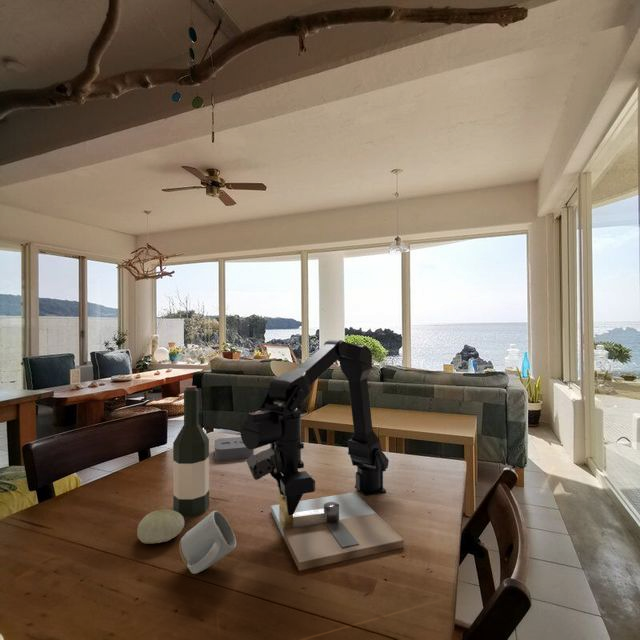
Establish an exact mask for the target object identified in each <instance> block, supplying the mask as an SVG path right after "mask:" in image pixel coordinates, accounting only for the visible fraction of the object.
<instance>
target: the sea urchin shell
mask: <svg viewBox="0 0 640 640" xmlns="http://www.w3.org/2000/svg"><path fill="white" fill-rule="evenodd" d="M185 524H186V523H185V517H183V516H182V515H181V514H180V513H178V512H176V511H174V510H173V509H170V508H169V509H168V508H163V509H158V510H154V511H151V512H149V513H147V514H145V516H144V517H142V519H141V521H139V523H138V525H137V531H136V533H137V534H136V537H137V538H138V540H139V541H140V542H141V543H143V544H146V545H147V544H160V543H165V542H168V541H170V540H172V539H173V538H176V537H177V536H178V535H180V533H182V531H183V529H184V527H185Z"/></svg>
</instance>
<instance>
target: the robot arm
mask: <svg viewBox="0 0 640 640" xmlns="http://www.w3.org/2000/svg"><path fill="white" fill-rule="evenodd" d="M337 361H338V362H339V367H340V370H341V372H342V373H343V375H344V376H345V377H346V379H347V381H348V390H349V400H350V409H351V417H352V425H353V427H352V428H353V434H352V436H351V437H350V439H348V440H347V443H346V444H347V449H348V452H347V455H349V457H350V460H351V463H352V466H356V470H357V471H356V472H355V484H354V487H355V489H357V490H358V491H359V492H360V493H361V494H362V495H363V496H371V495H377V494H383V493H386V492H387V489H385V488H384V472H386V471H387V469H388V468H389V461H390V460H389V458H388V457H387V455H386V454H384V451H383V450H382V445H381V442H380V441H381V440H380V439H379V437H378V436H377V434H376V433H375V432H374V430H373V421H372V413H371V411H372V410H371V404H370V403H371V401H370V395H369V384H368V383H369V382H368V377H369V375H370V373H371V371H372V369H373V353H372V350H371V348H369V347H368V346H367V345H355V344H352V343H349V342H346V341H344V340H342V339H329V340H327V341H325V342H324V343H323V346H321V347H320V348H319V349H318V350H316V351H315V352H314V353H313V354H312V355H311V356H309V357H308V358H307V359H306V360H305V361H304V362H303V363H301V364H300V365H299V366H298V367H297V368H295V369H293V370H291V371H288V372H287V371H286V372H284V373H282V374H280V375H279V376H277V377H275V378H274V379H272V380H271V381H270V383H269V388H268V389H267V391H266V394H265V395H264V398H263V399H262V401H261V404H260V406H259V407H258V411H257V412H249V413H247V414H246V417H247V418H246V419H245V420H244V421H243V423H242V425H241V428H240V437H241V438H242V441H243V443H244V445H245V446H246V447H247V448H248V449H251V450H252V449H254V450H255V449H259V448H261V447H265V446H268V445H270V446H269V448H267V449H264V450H262V451H259V452H257V453H254V455H253V456H251V457H249V458H248V459H245V460H246V464H247V465H248V469H249V472H250V474H251V476H252V479H254V480H255V481H256V480H259V479H262V478H263V477H265V476H267V475H268V474H270V476H271V477H272V478H273V479H274V480H276V484H277V488H278V492H279V493H278V494H280V493H282V492H283V493H284V495H285V500H286V506H287V511H288V515H293V514H294V512H295V510H296V508H297V506H298V503H299V501H301V499H302V497H303V495H305V494H310V493H314V492H315V491H316V480H315V479H314V478H313V477H312V476H311V474H310V473H309V472H308V471H306V470H302V471H299V469H304V468H305V467H304V466H305V464H304V461H303V460H302V450H303V449H305V446H304V445H305V444H304V442H302V440H301V439H302V437H301V436H302V434H301V433H302V420H301V419H302V417H301V415H305V414H308V412H309V410H308V409H307V408H306V407H304V406H303V403H304V402H305V400H306V399H307V398H308V396H309V395H310V393H311V390H312V389H311V387H312V385H313V384H314V383H315V382H316V381H317V380H318V379H319V378H320V377H321V376H322V375H323V374H324V373H325V372H327V370H329V368H331V367H332V366H333V365H334V364H335V363H336V362H337Z"/></svg>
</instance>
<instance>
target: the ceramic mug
mask: <svg viewBox="0 0 640 640" xmlns="http://www.w3.org/2000/svg"><path fill="white" fill-rule="evenodd" d="M236 538H237V537H236V535H235V532H234V531H233V528H232V527H231V524H230V523H229V521H228V519H226V516H224V515H223V514H222V513H221V512H220V511H218V510H213V511H211V512H210V513H209V514H207V516H206V517H204V518H203V519H202V520H200V522H198V523H197V524H196V525H195V526H193V527H192V528H191V529H189V530H188V531H187V532H185V533H184V535H183V536H182V537H181V538H180V541H179V546H178V549H179V553H180V556H181V559H182V561H183V563H184V564H185V566H186V567H187V569H188V570H189V571H190V573H191V574H194V575H195V574H196V575H197V574H199V573H201V572H202V571H204V570H206V569H208V568H210V567H211V566H212V565H214V564H215V563H216V562H217V561H219V560H221V559H222V558H224V557H225V556H226V555H228V554H230V552H232V551H234V550H235V549H236V547H237V539H236Z"/></svg>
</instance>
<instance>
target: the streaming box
mask: <svg viewBox="0 0 640 640" xmlns="http://www.w3.org/2000/svg"><path fill="white" fill-rule="evenodd" d="M254 450H255V449H252V450H251V449H248V448H247V447H246V446H245V445H244V443H243V441H242V438H241V436H235V437H223V438H221V437H220V438H217V439H215V440H214V459H215V461H217V462H226V461H229V462H230V461H237V460H238V461H239V460H247V459H248V458H249V457H251V456H253V455H255V453H254Z"/></svg>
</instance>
